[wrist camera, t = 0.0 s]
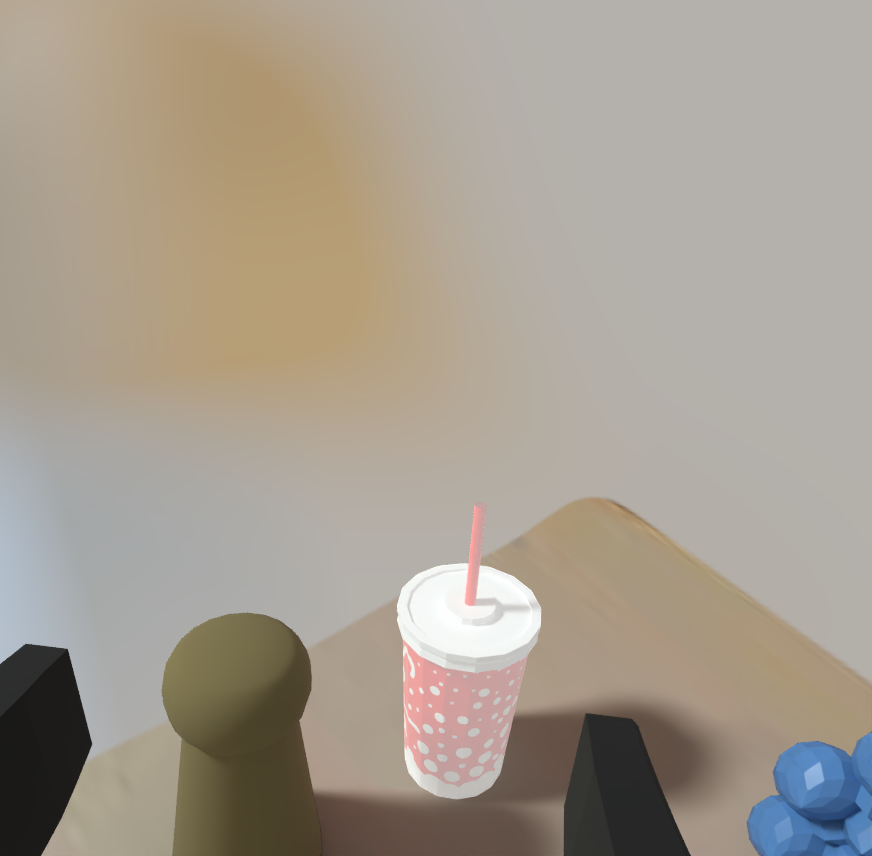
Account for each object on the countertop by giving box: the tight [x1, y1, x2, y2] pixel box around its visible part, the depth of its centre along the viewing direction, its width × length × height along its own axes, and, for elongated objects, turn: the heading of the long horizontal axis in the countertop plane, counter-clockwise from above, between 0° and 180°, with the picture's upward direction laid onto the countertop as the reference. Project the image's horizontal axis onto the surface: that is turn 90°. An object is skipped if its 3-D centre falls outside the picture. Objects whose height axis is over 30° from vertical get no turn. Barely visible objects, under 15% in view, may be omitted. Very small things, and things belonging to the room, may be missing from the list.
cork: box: [162, 613, 322, 856], centre depth 30 cm, size 6×6×11 cm
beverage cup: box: [397, 502, 541, 799], centre depth 34 cm, size 6×6×14 cm
